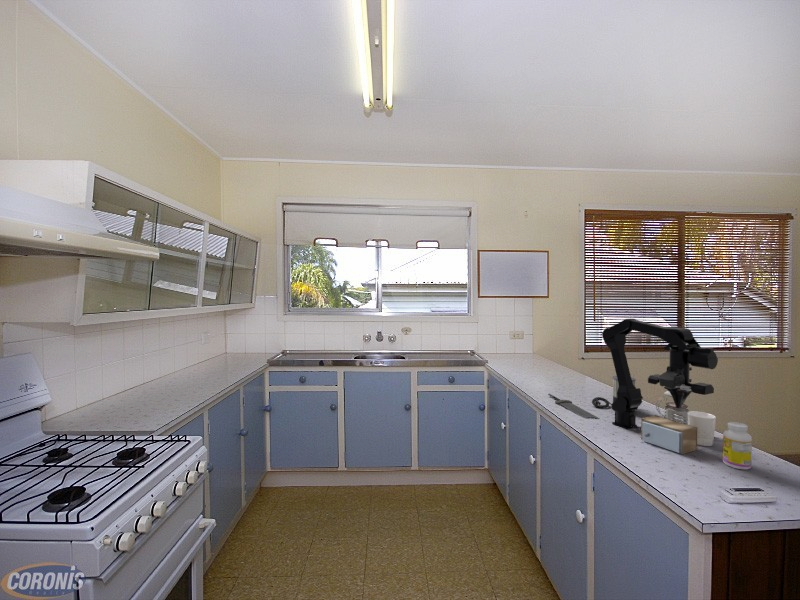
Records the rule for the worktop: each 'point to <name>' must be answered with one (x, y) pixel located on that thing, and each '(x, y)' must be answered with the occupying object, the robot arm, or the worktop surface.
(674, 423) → the cabinet
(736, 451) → the supplement bottle
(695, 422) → the white cup
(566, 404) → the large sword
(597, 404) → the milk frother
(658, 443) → the door
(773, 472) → the worktop surface
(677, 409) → the french press
